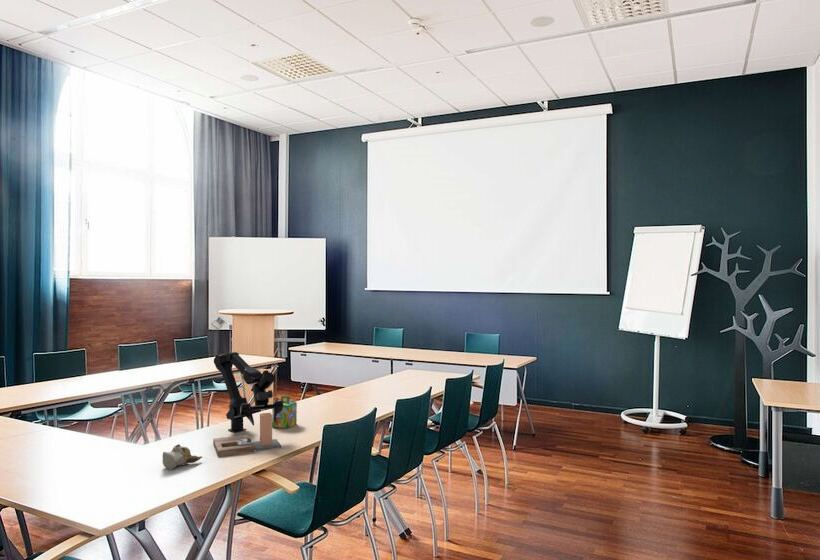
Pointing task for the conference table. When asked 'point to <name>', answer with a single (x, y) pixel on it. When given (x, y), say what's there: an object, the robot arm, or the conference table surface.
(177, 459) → the ceramic sculpture
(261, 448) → the rubber pad
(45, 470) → the conference table surface
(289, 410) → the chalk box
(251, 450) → the walnut puzzle board
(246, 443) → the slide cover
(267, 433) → the terracotta block
